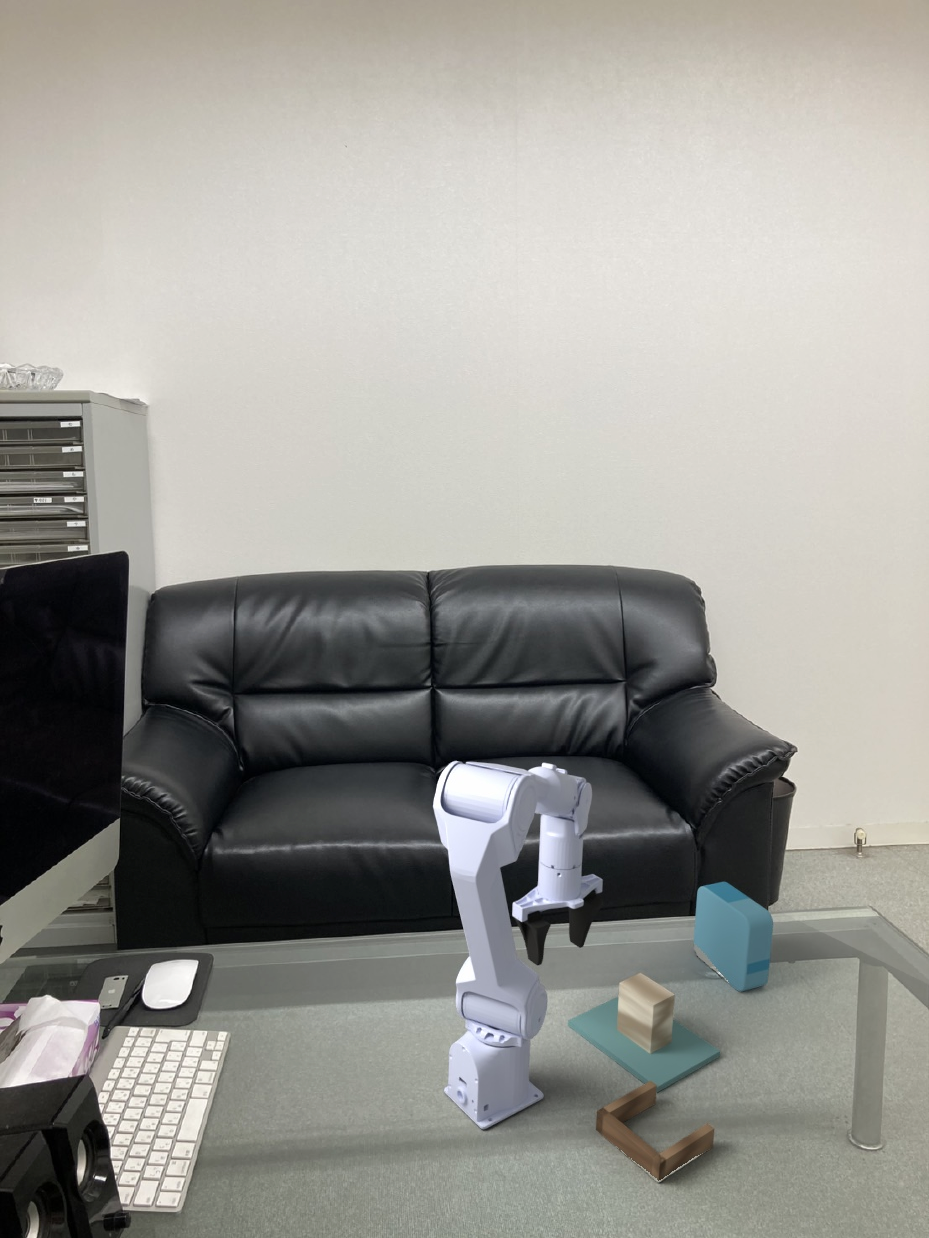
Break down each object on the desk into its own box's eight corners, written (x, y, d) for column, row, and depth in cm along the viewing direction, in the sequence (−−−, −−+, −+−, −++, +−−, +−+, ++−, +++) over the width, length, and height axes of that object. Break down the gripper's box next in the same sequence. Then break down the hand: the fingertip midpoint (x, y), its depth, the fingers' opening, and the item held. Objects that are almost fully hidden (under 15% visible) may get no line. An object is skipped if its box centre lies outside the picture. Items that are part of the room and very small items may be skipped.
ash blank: (650, 1053, 121) (653, 1005, 119) (616, 1029, 126) (619, 982, 124) (671, 1042, 123) (674, 994, 122) (637, 1019, 128) (640, 972, 126)
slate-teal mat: (656, 1092, 115) (657, 1087, 115) (567, 1025, 127) (568, 1020, 127) (720, 1056, 122) (720, 1050, 122) (630, 995, 134) (630, 990, 134)
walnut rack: (658, 1183, 101) (659, 1163, 100) (595, 1129, 109) (596, 1110, 108) (712, 1147, 106) (714, 1128, 106) (649, 1098, 114) (650, 1080, 113)
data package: (767, 989, 137) (775, 914, 134) (743, 996, 135) (749, 920, 133) (715, 948, 148) (721, 877, 145) (691, 953, 146) (697, 882, 143)
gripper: (538, 886, 118) (534, 984, 121) (620, 857, 126) (615, 949, 129) (503, 865, 123) (500, 958, 126) (584, 839, 132) (579, 927, 135)
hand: (556, 952), depth 128 cm, fingers open, 7 cm apart
